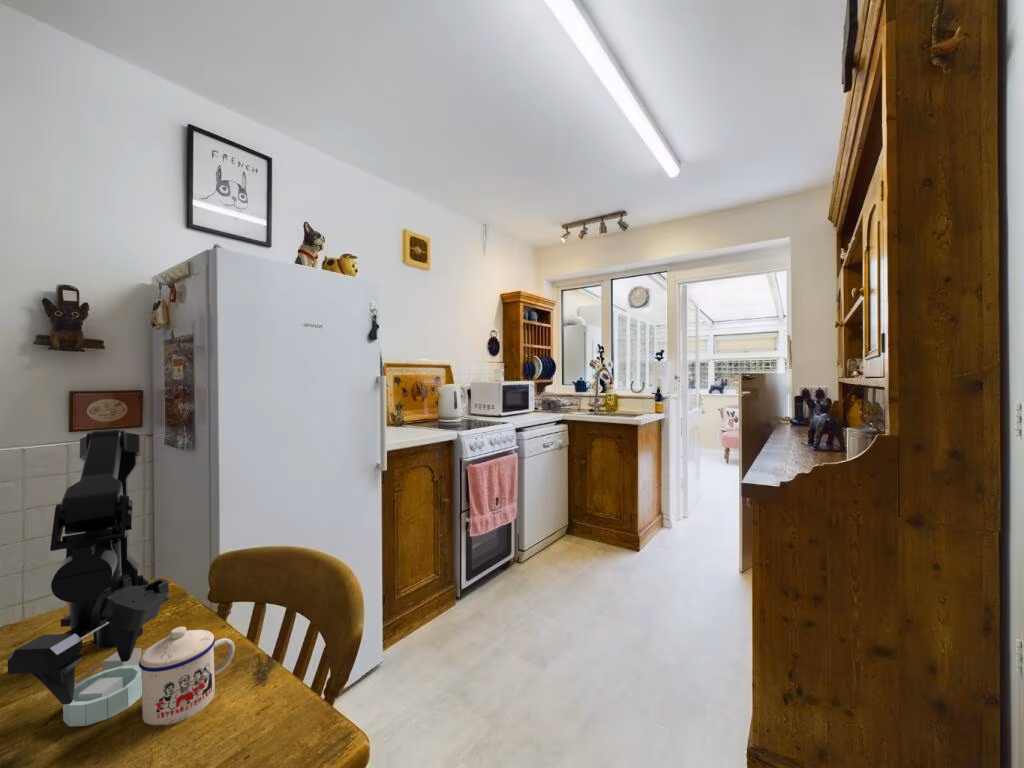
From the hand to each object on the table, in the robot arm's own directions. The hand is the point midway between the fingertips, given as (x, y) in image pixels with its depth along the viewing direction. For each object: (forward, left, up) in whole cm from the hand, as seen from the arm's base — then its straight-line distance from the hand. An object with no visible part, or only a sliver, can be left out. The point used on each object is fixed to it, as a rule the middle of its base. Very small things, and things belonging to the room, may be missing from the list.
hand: (98, 680), depth 64 cm
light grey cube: (0, 0, -4) cm, 4 cm away
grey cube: (-4, +8, -4) cm, 10 cm away
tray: (-6, +9, -5) cm, 11 cm away
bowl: (0, +1, -5) cm, 5 cm away
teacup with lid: (+12, +2, -5) cm, 13 cm away
